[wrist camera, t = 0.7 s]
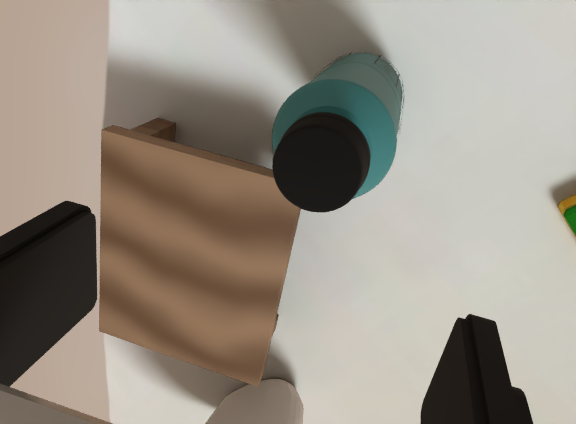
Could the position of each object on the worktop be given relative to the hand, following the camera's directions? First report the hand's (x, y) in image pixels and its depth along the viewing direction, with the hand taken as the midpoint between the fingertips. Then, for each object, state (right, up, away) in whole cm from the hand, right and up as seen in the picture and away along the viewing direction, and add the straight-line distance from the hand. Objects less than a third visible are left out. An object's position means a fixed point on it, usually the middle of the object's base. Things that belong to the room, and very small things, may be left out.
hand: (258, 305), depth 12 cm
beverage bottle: (+7, +12, +25) cm, 29 cm away
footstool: (-6, +1, +34) cm, 34 cm away
